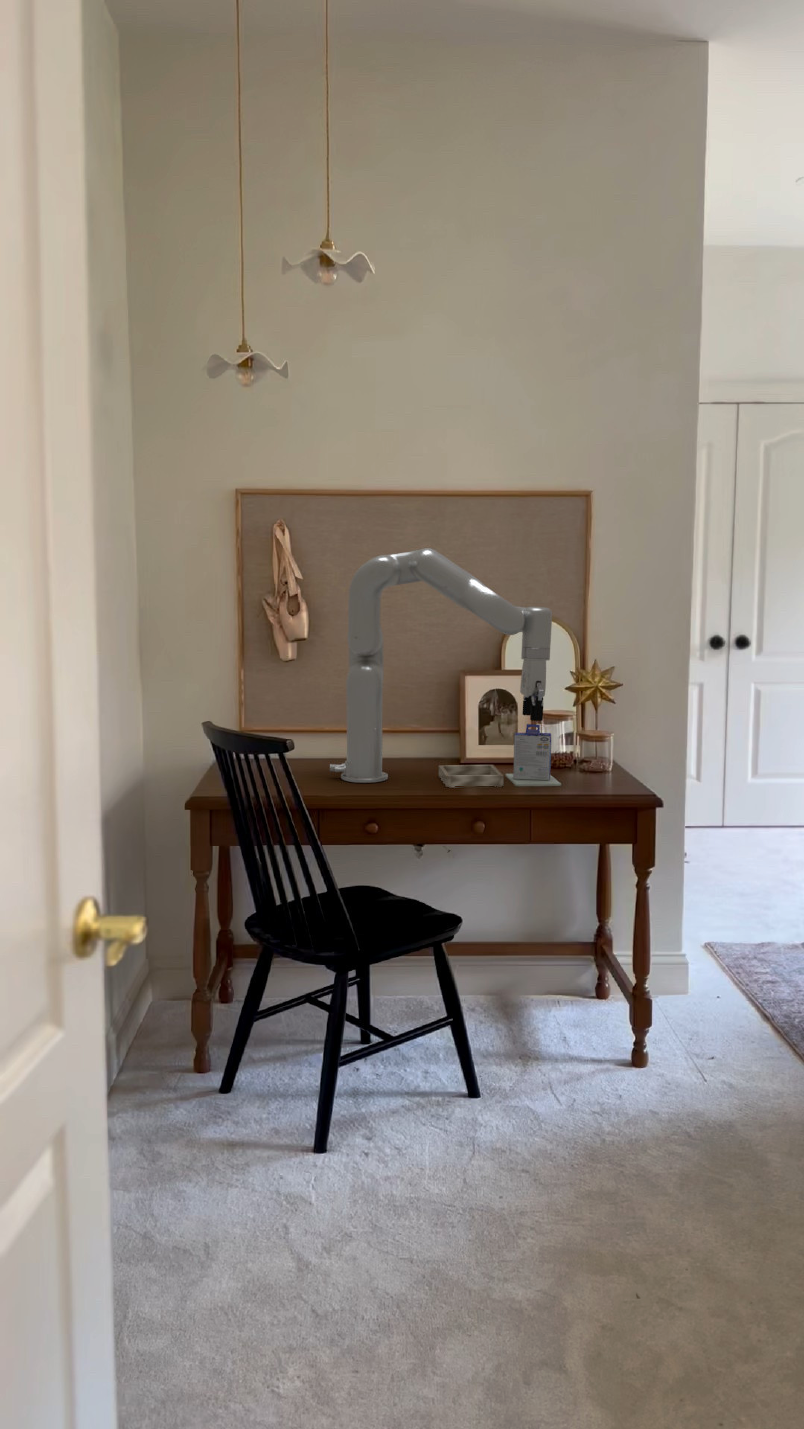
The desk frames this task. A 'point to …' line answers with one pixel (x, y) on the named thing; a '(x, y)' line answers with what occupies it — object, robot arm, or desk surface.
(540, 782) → the mat
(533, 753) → the ink cartridge box
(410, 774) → the desk surface
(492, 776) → the holder
